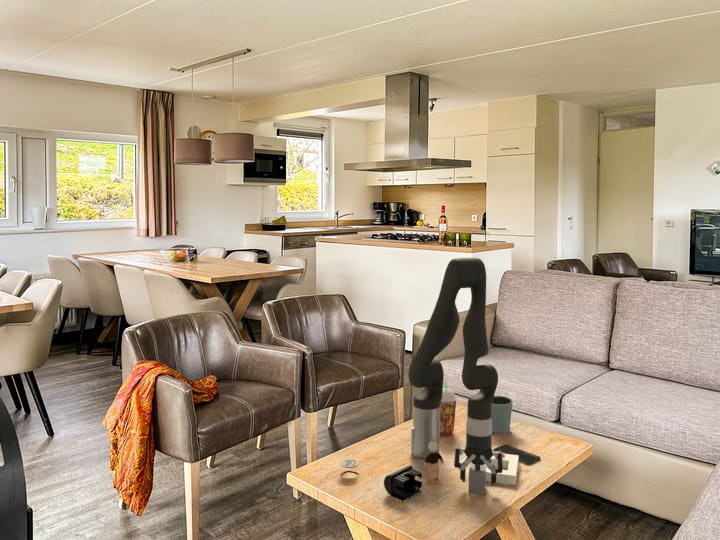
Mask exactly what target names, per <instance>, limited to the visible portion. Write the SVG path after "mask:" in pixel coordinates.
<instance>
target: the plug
mask: <svg viewBox="0 0 720 540" xmlns="http://www.w3.org/2000/svg"><path fill="white" fill-rule="evenodd" d="M469 466H470V467H469V469H468V491H467V492H468V494H469V495H470V494H471V495H477V496H485V491H486V485H487V484H486V482H487V481H486V466H485V465H479V464H473V463H470V465H469Z"/></svg>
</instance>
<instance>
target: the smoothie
mask: <svg viewBox="0 0 720 540" xmlns="http://www.w3.org/2000/svg"><path fill="white" fill-rule="evenodd" d="M456 407H457V397H456V395H455V392H454V391H453V390H452V389H450V388H448V387H447V380H445V381H444V387H443V392H442V399H441V402H440V435H441V436H446V437H447V436H451V435H452V434H453V432H454V430H455V420H456V419H455V418H456V409H457V408H456Z"/></svg>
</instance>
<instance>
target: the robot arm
mask: <svg viewBox="0 0 720 540" xmlns="http://www.w3.org/2000/svg"><path fill="white" fill-rule="evenodd" d="M445 268H446V269H445V272H444V274H443V279H442V283H441V287H440V291H439V294H438V298H437V301H436V303H435V305H434V306H435V307H434V308H433V311H432V313H431V316H430V318H429V321H428V324H427V326H426V330H425V332H424V335H423V338H422V339H421V343H420V345H419V346H418V349H417V351H416V353H415V355H414V356H413V358H412V361H411V363H409V368H408V376H407V377H408V382H409V383H410V385H411V386H412V387H414V388H417V389H419V388H421V389H422V388H423V389H422V390H421V391H420V392H418V393H417V394H415V395H414V396H413V399H412V401H413V402H412V406H413V407H412V408H413V411H412V427H411V433H410V436H411V439H410V440H411V441H410V442H411V445H410V451H411V452H410V455H411V456H415V457H417V458H419V459H424V460H425V459H426V457H427V456H428V455H429V454H431V452H430V451H429V449H428V444H429V443H430V442H433V441H434V442H436V443H437V444H438V446H439V448H438V450H437V453H439V454H440V447H441V446H440V444H441V443H440V439H441V438H440V402H441V399H442V392H443V388H444V375H445V373H444V368H443V364H442V363H441V361H440V360H439V359H437V358H436V357H437V356H438V355H439V354H441V352H442V351H444V350H445V349H446V348H447V347H448V345H449V346H450V344H451V343H452V341H453V340H454V338H455V336H456V333H457V331H458V329H459V325H460V323H461V322H460V315H459V314H460V313H459V311H458V308H457V305H456V300H457V296H458V294H459V291H460V290H461V289H470V295H471V297H470V298H471V299H470V305H469V309H468V312H467V314H466V316H465V318H464V322H463V326H462V338H463V346H464V347H463V348H464V357H463V363H462V364H463V365H462V371H461V382H462V384H463V386H464V387H465V389H467V390H469V391H477V390H478V392H477V393H476V394H473V395H471V396H470V397H469V398H468V400H467V413H466V414H467V417H466V422H465V423H466V424H465V425H466V435H465V436H466V437H465V438H466V439H465V448H464V447H461V446H460V445H457V446H456V448H455V451H454V463H453V466H454V468H456V469H459V479H460V480H461V483H466V482H465V481H466V477H467V476H466V471H467V470H466V468H467V467H468V466H470V465H471V464H479V465H486V466H487V467H488V469H490V471H491V472H492V473H491V482H490V486H492V487H494V486H495V485H496V484H497V483H496V474H497V473H502V470H503V458H502V451H498V452H493V448H492V446H493V445H492V444H493V443H492V442H493V441H492V440H493V439H492V438H493V435H492V434H493V433H492V420H491V406H492V401H493V398H494V396H495V394H496V390H497V388H498V383H499V374H498V371H497V369H496V367H495V366H493V365H492V364H488V363H487V364H480V365H477V364H478V361H479V359H481V358H483V357H485V356H486V357H487V355H488V354H489V352H490V351H489V341H488V336H487V325H486V324H487V323H486V308H487V307H486V304H487V270H486V269H487V268H486V266H485V263H484V261H483V260H482V259H481V258H479V257H456V258H455V257H454V258H452V259H451V260H450V261H449V262H448V263H447V266H446V267H445ZM463 453H464V455H465V456H466V458H465V459H464V461H463V462H462V463H461V462H460V459H461V456H462V455H463ZM492 456H495V459H497V460H498V467H495V466H494V464H493V462H492V460H491V457H492Z"/></svg>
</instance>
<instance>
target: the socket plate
mask: <svg viewBox="0 0 720 540" xmlns="http://www.w3.org/2000/svg"><path fill="white" fill-rule="evenodd" d="M502 458H503V470H502V473H497V474H496V484H503V485H512V486H516V484H517V477H518V476H517V475H518V469H519V462H518V460H519V455H511V454H505V453H504V452H502ZM491 460H492V462H493V464H494V466H495V467H498V460H497V459H495V456H492V457H491ZM485 466H486V465H485ZM491 473H492V472H491V471H490V469H488V467H487V466H486V482H490V483H491Z"/></svg>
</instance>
